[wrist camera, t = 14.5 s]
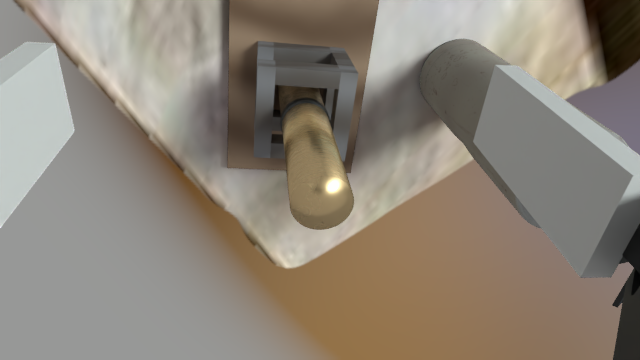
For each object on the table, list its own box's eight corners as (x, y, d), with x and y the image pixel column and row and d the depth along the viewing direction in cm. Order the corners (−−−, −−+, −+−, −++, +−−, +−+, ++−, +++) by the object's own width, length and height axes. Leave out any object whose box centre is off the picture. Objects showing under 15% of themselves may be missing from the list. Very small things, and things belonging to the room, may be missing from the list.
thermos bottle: (464, 120, 53) (631, 299, 29) (405, 95, 51) (535, 268, 27) (505, 56, 50) (732, 201, 26) (444, 26, 47) (632, 154, 24)
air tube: (278, 64, 46) (291, 172, 28) (319, 67, 47) (360, 175, 28) (275, 104, 49) (285, 230, 30) (315, 106, 49) (350, 231, 30)
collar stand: (230, -28, 43) (224, -12, 35) (378, -13, 45) (403, 6, 37) (227, 163, 53) (222, 208, 45) (349, 168, 55) (363, 212, 47)
